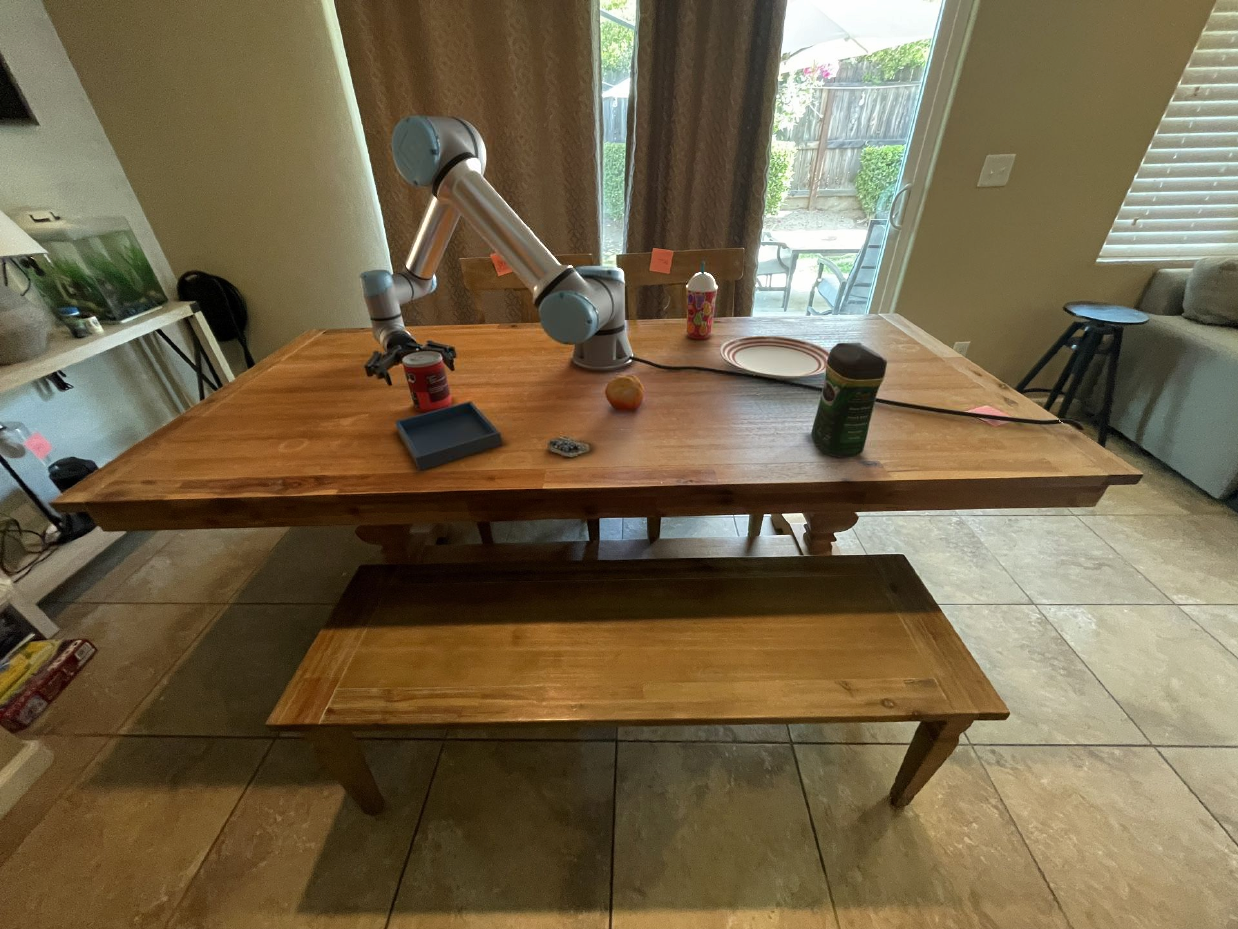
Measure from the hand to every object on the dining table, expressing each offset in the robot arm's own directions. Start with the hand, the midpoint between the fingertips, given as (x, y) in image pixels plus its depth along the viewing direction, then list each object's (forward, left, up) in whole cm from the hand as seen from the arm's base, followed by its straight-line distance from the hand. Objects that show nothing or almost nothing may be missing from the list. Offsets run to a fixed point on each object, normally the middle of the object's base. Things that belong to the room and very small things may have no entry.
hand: (421, 372), depth 110 cm
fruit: (-45, +3, -6) cm, 45 cm away
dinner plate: (-80, -22, -6) cm, 83 cm away
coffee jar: (-85, +16, -6) cm, 87 cm away
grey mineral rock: (-36, +20, -6) cm, 41 cm away
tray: (-12, +18, -6) cm, 22 cm away
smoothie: (-62, -43, -6) cm, 76 cm away
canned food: (-3, +4, -6) cm, 8 cm away
